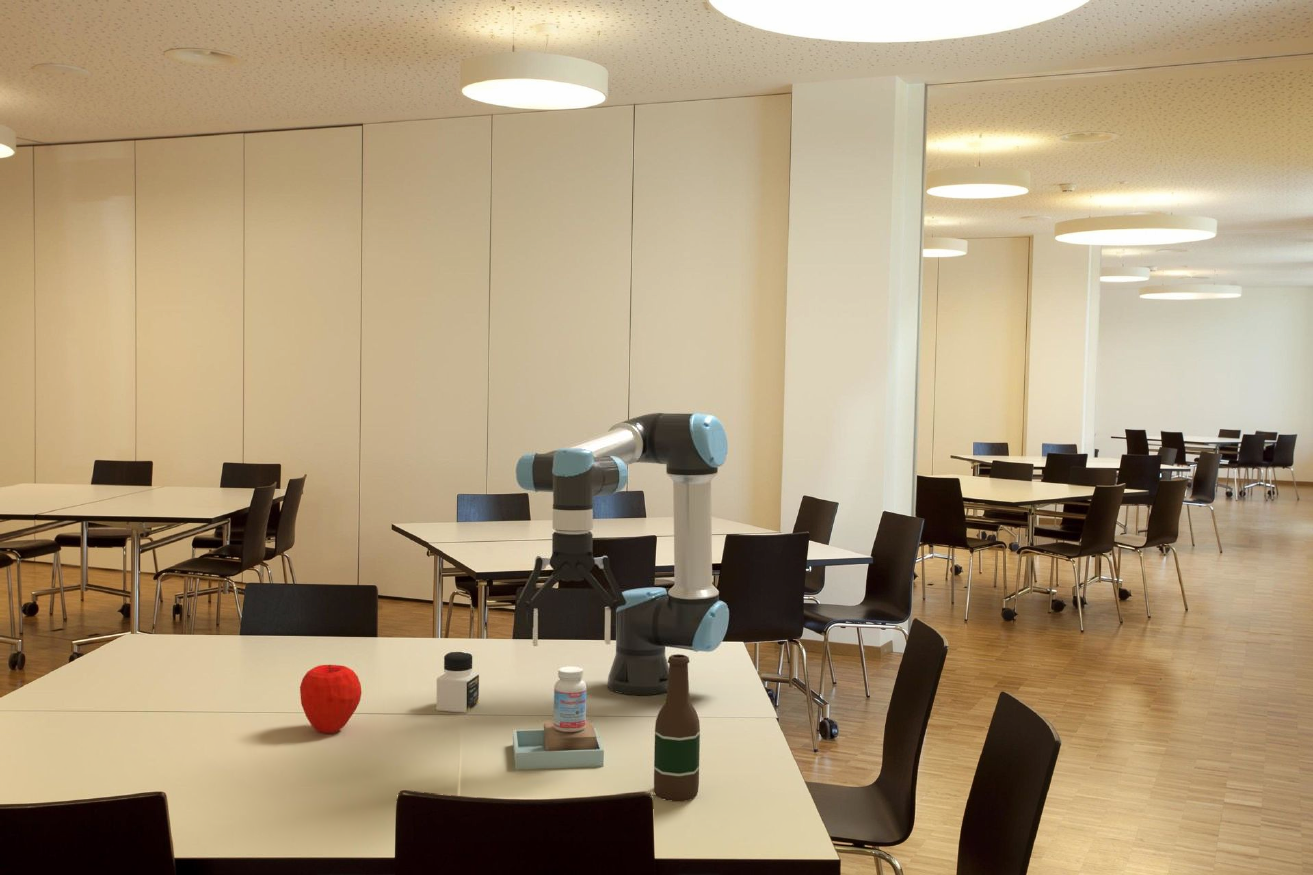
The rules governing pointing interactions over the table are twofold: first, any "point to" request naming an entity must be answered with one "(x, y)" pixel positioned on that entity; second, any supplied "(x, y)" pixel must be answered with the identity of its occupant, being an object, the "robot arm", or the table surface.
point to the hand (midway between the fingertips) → (571, 643)
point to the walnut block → (569, 738)
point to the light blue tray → (551, 753)
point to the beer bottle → (677, 738)
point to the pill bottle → (570, 700)
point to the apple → (330, 696)
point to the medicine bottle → (457, 684)
